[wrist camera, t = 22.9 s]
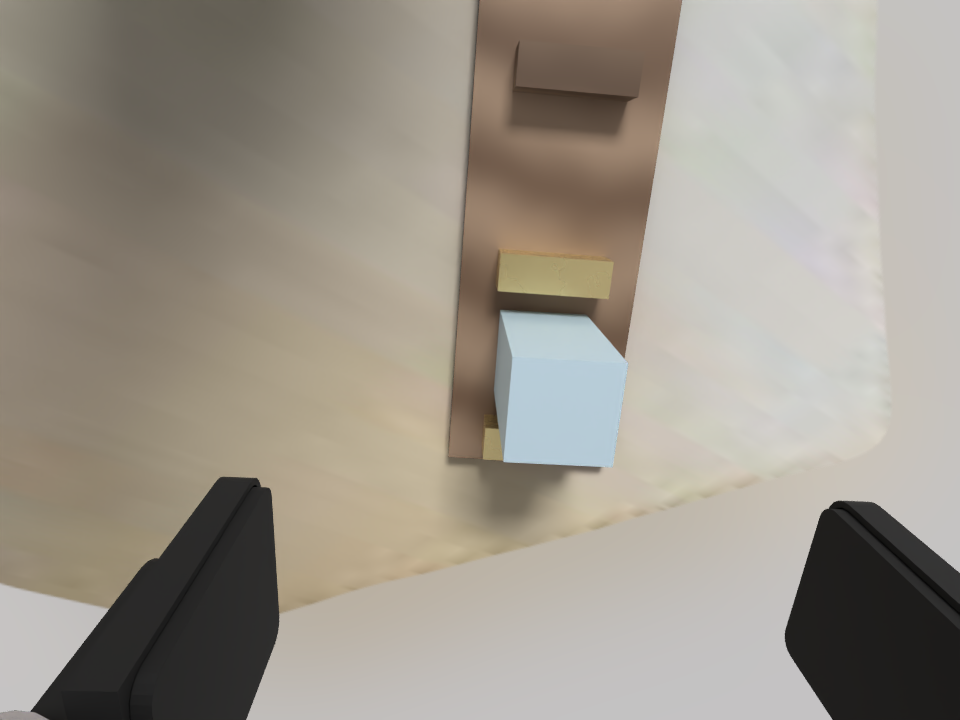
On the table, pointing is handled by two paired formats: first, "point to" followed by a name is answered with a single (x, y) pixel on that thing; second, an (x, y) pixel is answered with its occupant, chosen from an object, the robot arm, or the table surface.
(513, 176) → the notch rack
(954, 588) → the robot arm
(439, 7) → the table surface
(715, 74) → the table surface
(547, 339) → the painted block
